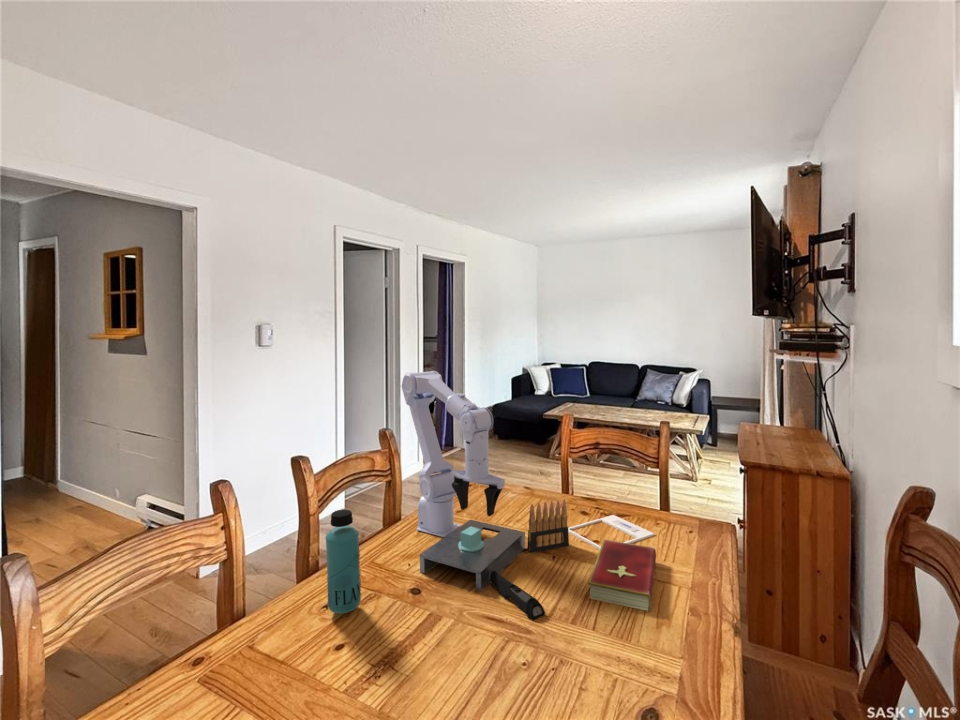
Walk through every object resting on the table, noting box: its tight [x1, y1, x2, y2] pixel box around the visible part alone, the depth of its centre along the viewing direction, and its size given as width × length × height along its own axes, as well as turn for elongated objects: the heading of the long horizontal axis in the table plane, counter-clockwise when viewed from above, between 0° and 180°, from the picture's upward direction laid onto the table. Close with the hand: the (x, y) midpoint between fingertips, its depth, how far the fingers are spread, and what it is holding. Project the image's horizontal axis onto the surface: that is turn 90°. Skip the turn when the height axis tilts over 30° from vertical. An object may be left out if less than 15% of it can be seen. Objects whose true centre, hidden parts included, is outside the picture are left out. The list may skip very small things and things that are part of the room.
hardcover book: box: [587, 539, 657, 613], centre depth 103 cm, size 12×21×4 cm, turn 157°
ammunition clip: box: [526, 498, 570, 554], centre depth 118 cm, size 11×2×12 cm, turn 108°
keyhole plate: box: [419, 519, 526, 592], centre depth 112 cm, size 16×22×4 cm
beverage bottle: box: [325, 508, 362, 614], centre depth 92 cm, size 6×7×20 cm
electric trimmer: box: [490, 571, 546, 621], centre depth 96 cm, size 4×16×3 cm, turn 32°
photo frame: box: [568, 514, 655, 551], centre depth 126 cm, size 15×1×18 cm
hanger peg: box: [458, 526, 484, 552], centre depth 111 cm, size 6×6×7 cm
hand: (477, 511), depth 117 cm, fingers open, 7 cm apart
